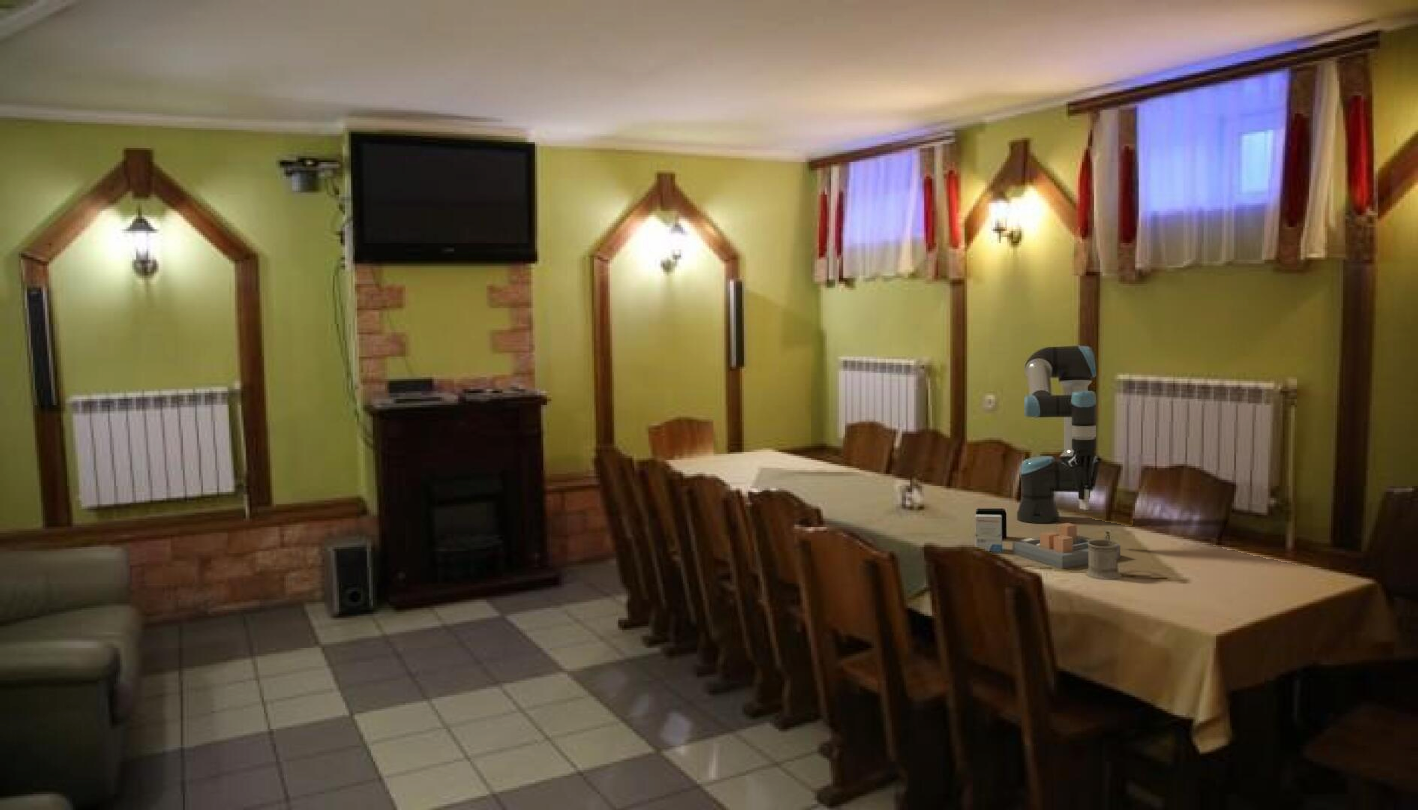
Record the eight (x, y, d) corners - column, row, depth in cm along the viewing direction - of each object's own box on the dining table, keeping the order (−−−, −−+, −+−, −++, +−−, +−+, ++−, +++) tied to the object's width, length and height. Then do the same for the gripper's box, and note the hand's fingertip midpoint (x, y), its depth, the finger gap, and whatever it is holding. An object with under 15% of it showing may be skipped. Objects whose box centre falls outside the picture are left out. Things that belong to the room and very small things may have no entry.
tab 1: (1049, 549, 317) (1049, 531, 317) (1058, 552, 314) (1058, 533, 313) (1040, 551, 316) (1039, 533, 315) (1049, 554, 312) (1049, 535, 311)
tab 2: (1067, 540, 328) (1067, 522, 328) (1076, 542, 325) (1076, 524, 324) (1058, 542, 327) (1058, 524, 326) (1067, 544, 323) (1067, 526, 322)
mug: (1117, 581, 288) (1117, 540, 287) (1082, 577, 293) (1082, 537, 292) (1126, 568, 300) (1126, 530, 299) (1092, 565, 305) (1092, 527, 304)
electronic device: (1006, 539, 342) (1006, 510, 341) (976, 539, 344) (976, 510, 343) (1005, 536, 347) (1005, 508, 346) (976, 536, 349) (975, 508, 348)
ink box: (1002, 548, 330) (1002, 513, 329) (1001, 552, 325) (1001, 517, 324) (976, 547, 333) (975, 513, 331) (975, 551, 328) (974, 516, 327)
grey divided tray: (1068, 543, 333) (1068, 531, 332) (1120, 557, 313) (1120, 544, 312) (1012, 553, 323) (1012, 540, 322) (1062, 568, 303) (1062, 555, 302)
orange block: (1063, 553, 312) (1063, 535, 311) (1073, 556, 308) (1072, 537, 308) (1053, 555, 310) (1053, 536, 310) (1063, 558, 307) (1063, 539, 306)
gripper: (1090, 435, 331) (1090, 504, 333) (1060, 438, 326) (1060, 509, 328) (1107, 437, 324) (1107, 508, 326) (1077, 440, 319) (1077, 512, 321)
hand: (1084, 508), depth 327 cm, fingers closed
